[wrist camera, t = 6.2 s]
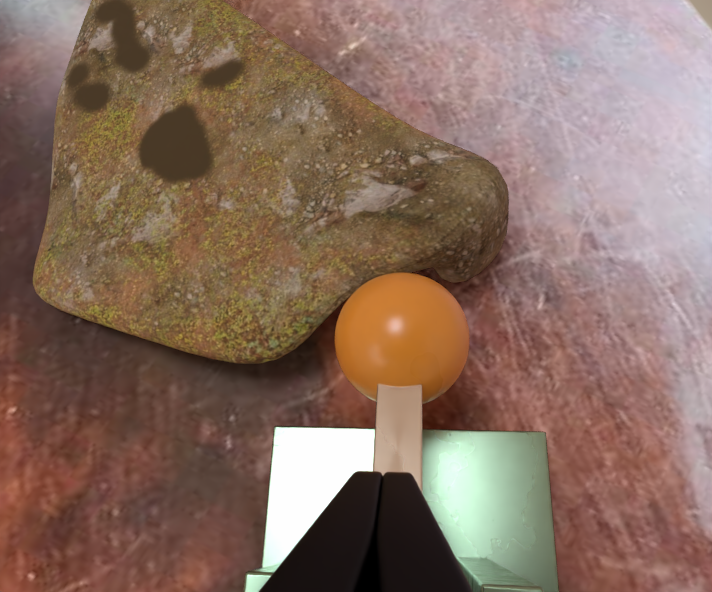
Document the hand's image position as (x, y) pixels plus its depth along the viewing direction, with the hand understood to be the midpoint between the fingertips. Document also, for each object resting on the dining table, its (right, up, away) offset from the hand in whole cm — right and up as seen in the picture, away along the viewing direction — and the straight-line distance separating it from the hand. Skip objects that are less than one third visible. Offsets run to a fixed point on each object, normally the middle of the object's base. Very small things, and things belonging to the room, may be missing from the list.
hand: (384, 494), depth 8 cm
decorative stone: (-8, +8, +17) cm, 20 cm away
